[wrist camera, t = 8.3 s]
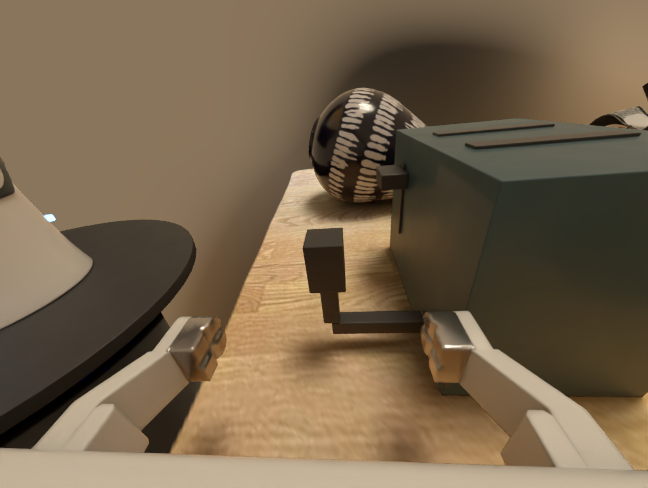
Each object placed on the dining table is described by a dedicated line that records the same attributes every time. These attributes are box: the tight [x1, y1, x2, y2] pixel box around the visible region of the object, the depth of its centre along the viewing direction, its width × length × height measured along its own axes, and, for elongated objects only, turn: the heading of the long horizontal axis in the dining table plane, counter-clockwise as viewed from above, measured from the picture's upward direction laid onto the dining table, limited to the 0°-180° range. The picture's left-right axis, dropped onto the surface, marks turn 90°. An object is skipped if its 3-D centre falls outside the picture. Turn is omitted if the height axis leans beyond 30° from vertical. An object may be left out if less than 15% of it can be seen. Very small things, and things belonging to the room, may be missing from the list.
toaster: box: [376, 119, 648, 397], centre depth 17 cm, size 12×16×12 cm
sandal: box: [590, 83, 648, 130], centre depth 46 cm, size 15×9×15 cm
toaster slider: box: [303, 228, 424, 334], centre depth 14 cm, size 7×2×7 cm, turn 87°
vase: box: [309, 88, 427, 203], centre depth 36 cm, size 16×16×30 cm
